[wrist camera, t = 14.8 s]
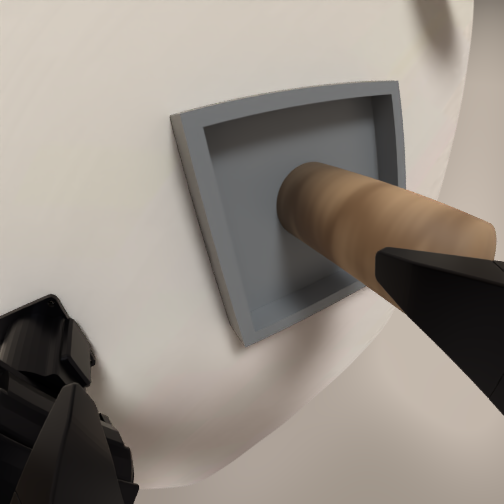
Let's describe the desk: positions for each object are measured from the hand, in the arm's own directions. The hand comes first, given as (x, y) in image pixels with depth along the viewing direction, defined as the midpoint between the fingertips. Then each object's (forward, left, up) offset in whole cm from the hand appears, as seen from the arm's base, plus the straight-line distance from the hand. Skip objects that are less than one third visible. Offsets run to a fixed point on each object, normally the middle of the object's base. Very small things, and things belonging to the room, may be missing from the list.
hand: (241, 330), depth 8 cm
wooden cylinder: (+10, -3, -12) cm, 16 cm away
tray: (+10, -3, -13) cm, 17 cm away
